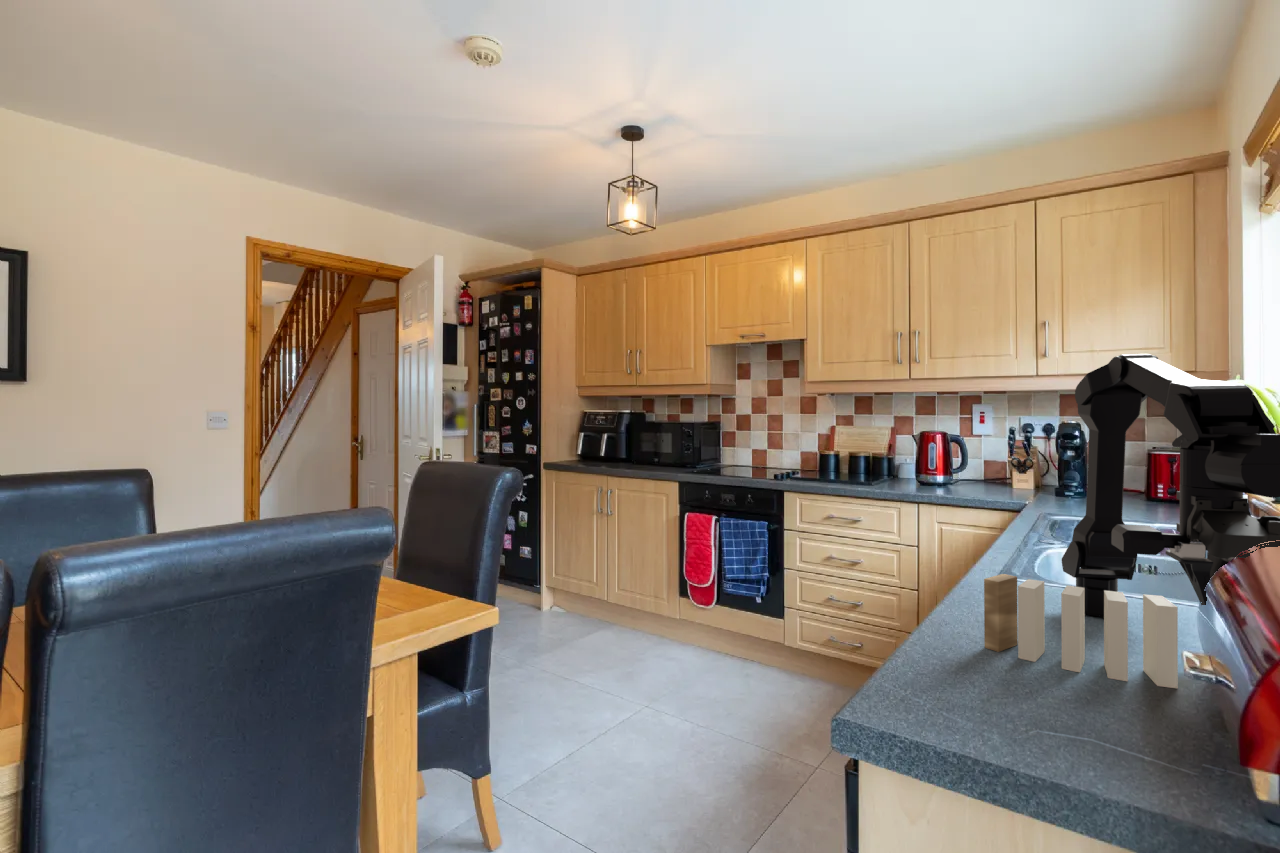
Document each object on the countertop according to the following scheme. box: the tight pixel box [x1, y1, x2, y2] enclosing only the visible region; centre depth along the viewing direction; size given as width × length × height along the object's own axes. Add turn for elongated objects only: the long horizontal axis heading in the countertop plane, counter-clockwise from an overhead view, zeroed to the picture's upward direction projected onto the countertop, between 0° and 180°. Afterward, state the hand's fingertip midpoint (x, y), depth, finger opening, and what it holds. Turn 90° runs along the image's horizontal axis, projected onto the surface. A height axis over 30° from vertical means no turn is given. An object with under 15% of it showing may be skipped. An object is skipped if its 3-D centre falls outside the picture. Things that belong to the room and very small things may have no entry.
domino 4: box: [1103, 590, 1129, 682], centre depth 80 cm, size 2×5×10 cm, turn 148°
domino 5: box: [1142, 593, 1179, 689], centre depth 78 cm, size 2×5×10 cm, turn 156°
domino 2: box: [1017, 578, 1046, 663], centre depth 87 cm, size 2×5×10 cm, turn 134°
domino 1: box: [983, 573, 1018, 653], centre depth 90 cm, size 2×5×10 cm, turn 121°
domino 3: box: [1060, 585, 1086, 673], centre depth 83 cm, size 2×5×10 cm, turn 139°
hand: (1209, 612), depth 76 cm, fingers closed
